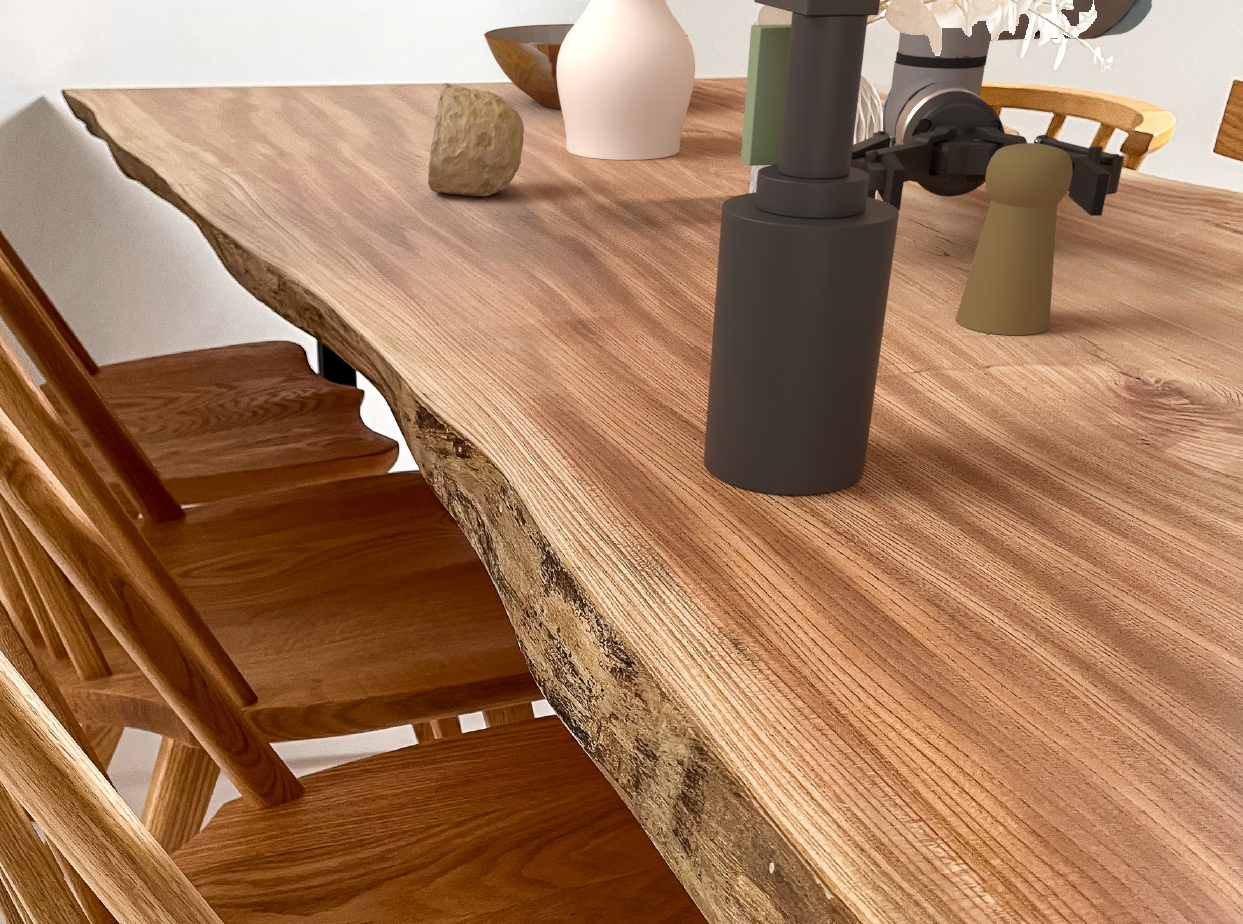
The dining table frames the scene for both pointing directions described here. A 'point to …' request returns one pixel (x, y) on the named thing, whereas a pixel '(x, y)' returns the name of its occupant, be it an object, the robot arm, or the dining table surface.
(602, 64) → the vase
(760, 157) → the sage green tall block
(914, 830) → the dining table surface
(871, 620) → the dining table surface
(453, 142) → the tan rough stone lump
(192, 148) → the dining table surface
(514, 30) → the bowl
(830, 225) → the spray bottle
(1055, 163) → the cork
